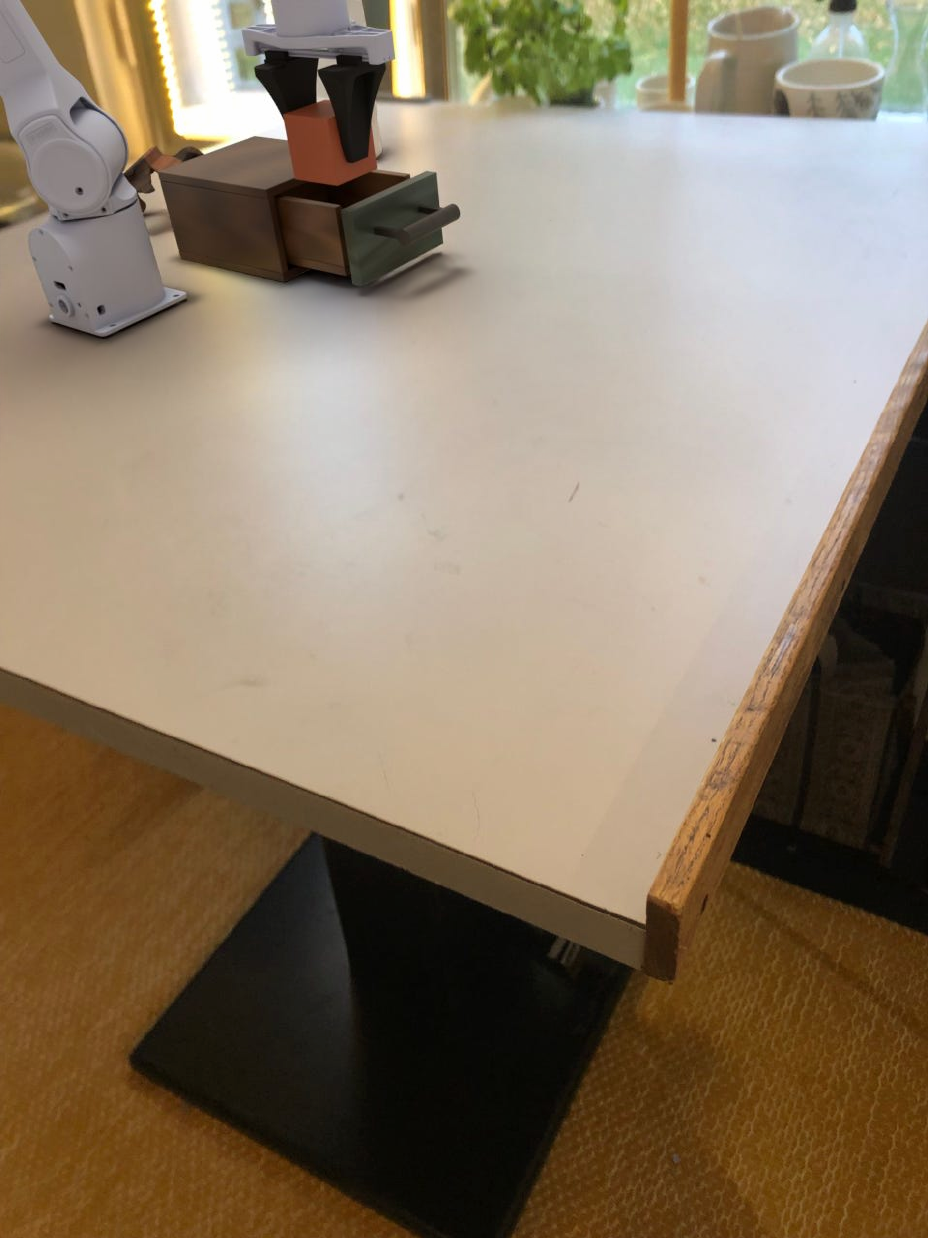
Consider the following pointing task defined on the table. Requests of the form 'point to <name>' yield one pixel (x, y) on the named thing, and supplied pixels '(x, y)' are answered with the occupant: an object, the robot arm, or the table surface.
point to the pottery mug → (155, 168)
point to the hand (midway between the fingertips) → (333, 156)
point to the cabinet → (233, 207)
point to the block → (322, 147)
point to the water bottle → (354, 14)
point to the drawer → (363, 223)
